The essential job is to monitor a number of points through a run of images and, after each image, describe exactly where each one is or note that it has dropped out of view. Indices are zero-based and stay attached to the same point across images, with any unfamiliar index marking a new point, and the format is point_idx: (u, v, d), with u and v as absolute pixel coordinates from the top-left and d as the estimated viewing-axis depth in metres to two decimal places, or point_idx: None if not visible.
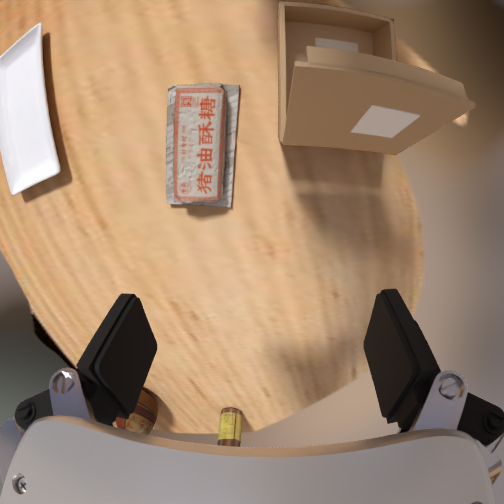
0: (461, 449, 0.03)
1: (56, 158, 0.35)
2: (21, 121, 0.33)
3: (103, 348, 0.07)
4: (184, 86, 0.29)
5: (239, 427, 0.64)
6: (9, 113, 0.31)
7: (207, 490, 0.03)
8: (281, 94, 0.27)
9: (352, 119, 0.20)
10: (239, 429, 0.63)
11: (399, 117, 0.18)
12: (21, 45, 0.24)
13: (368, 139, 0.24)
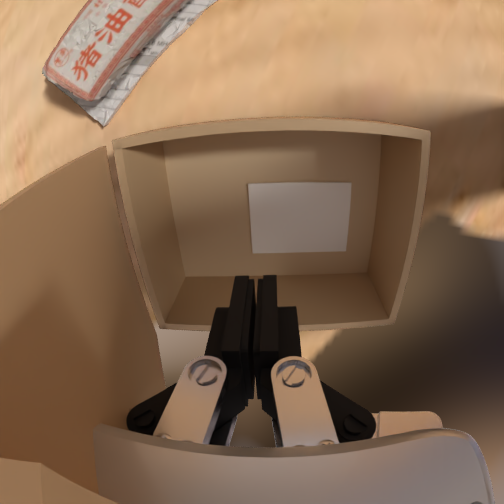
0: (461, 449, 0.03)
1: None
2: None
3: (244, 329, 0.08)
4: None
5: None
6: None
7: (207, 490, 0.03)
8: (205, 125, 0.13)
9: None
10: None
11: None
12: None
13: None
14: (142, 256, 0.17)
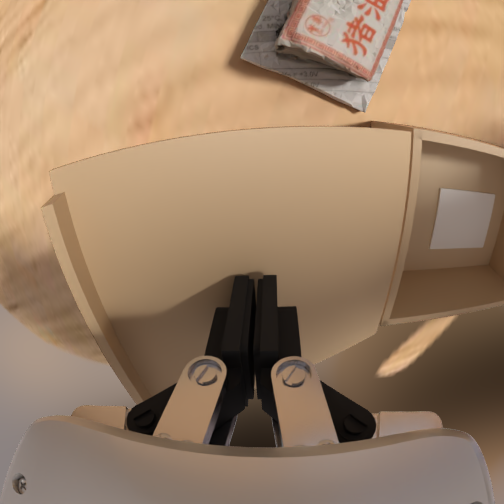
0: (461, 449, 0.03)
1: None
2: None
3: (244, 329, 0.08)
4: None
5: None
6: None
7: (207, 490, 0.03)
8: (480, 143, 0.11)
9: None
10: None
11: None
12: None
13: None
14: (404, 250, 0.15)
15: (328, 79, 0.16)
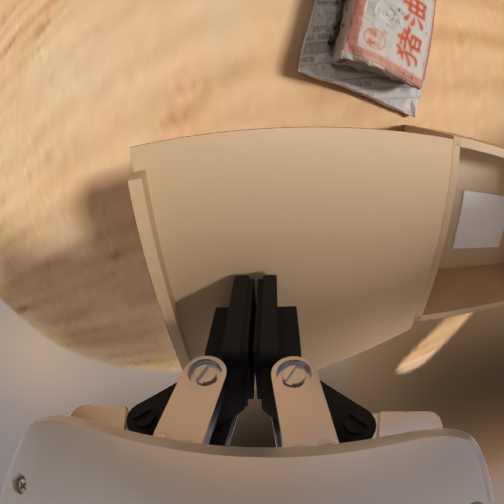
0: (461, 449, 0.03)
1: None
2: None
3: (244, 329, 0.08)
4: None
5: None
6: None
7: (207, 490, 0.03)
8: None
9: None
10: None
11: None
12: None
13: None
14: (440, 249, 0.15)
15: (381, 87, 0.16)
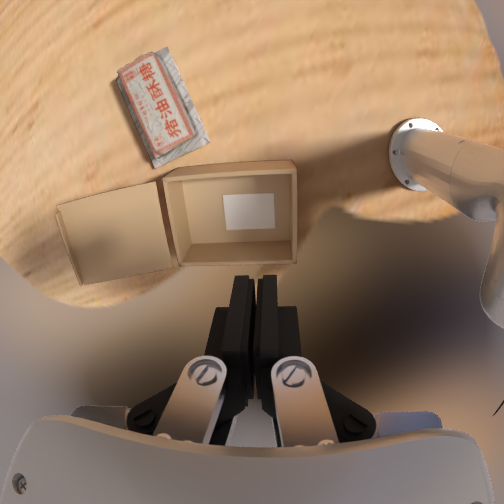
0: (461, 449, 0.03)
1: None
2: None
3: (244, 329, 0.08)
4: (123, 67, 0.30)
5: None
6: None
7: (207, 490, 0.03)
8: (201, 174, 0.35)
9: None
10: None
11: None
12: None
13: None
14: (174, 228, 0.39)
15: (186, 145, 0.39)
